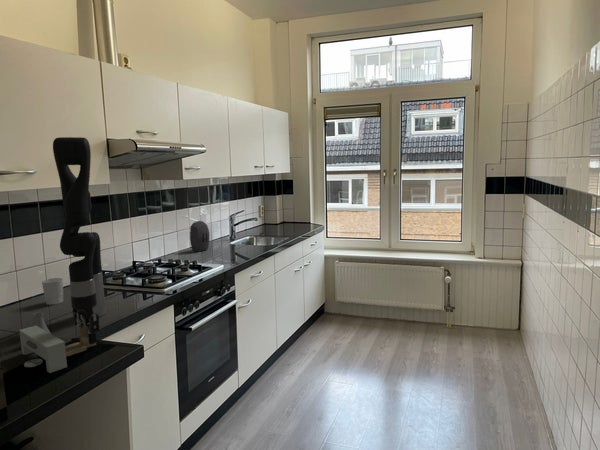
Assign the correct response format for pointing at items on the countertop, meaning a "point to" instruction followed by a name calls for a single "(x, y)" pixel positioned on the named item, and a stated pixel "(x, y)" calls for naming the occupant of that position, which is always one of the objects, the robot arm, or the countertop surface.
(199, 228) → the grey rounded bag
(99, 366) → the countertop surface
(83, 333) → the brown block
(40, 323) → the flask
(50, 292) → the white cup
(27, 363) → the disc
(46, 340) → the low white stool
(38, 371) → the countertop surface
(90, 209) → the robot arm
